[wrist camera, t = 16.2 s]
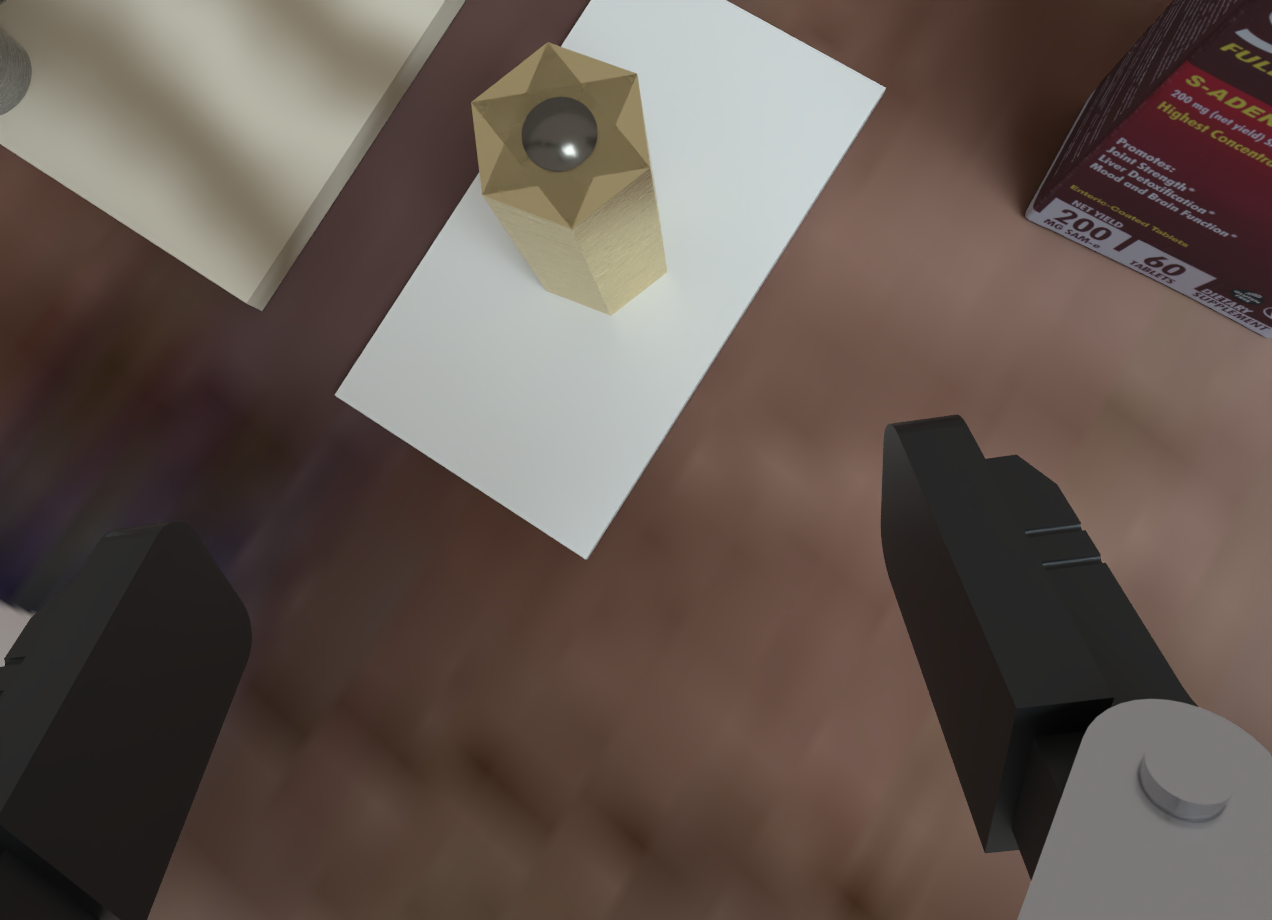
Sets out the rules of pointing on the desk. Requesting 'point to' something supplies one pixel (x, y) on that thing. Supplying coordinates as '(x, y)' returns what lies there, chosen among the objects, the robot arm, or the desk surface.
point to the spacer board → (214, 114)
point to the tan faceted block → (573, 176)
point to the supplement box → (1179, 160)
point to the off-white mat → (652, 321)
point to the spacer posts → (13, 72)
